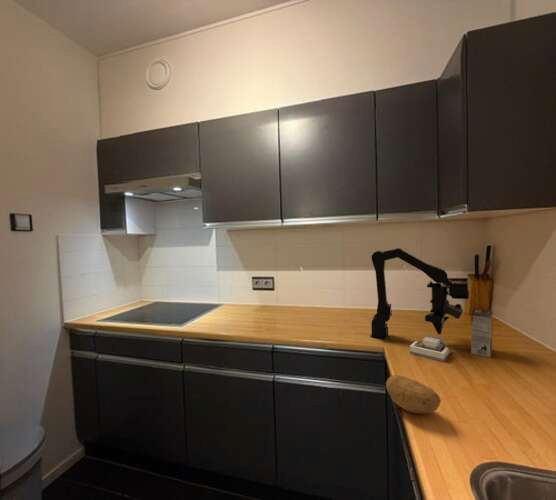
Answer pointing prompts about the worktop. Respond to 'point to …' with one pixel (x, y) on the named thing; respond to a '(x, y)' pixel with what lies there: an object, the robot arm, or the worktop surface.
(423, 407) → the potato
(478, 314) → the coffee box
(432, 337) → the trolley
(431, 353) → the dock
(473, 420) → the worktop surface
